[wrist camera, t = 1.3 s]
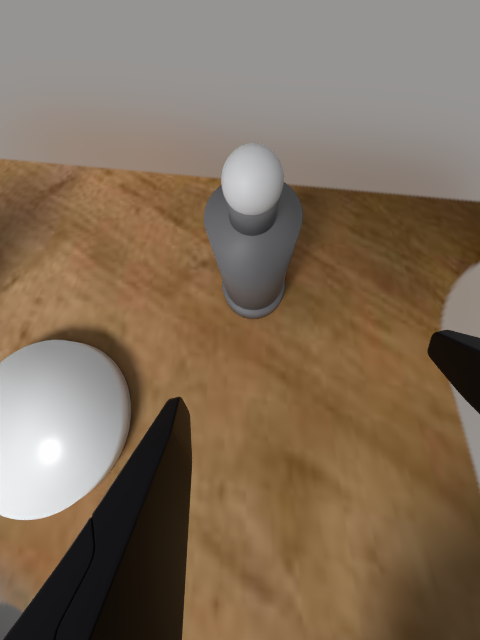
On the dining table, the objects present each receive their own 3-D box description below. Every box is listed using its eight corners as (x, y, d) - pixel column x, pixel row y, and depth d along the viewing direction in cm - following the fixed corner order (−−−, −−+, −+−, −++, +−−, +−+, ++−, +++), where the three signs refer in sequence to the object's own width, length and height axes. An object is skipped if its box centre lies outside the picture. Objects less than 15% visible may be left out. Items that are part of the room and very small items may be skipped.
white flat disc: (162, 416, 20) (155, 420, 18) (36, 550, 18) (17, 566, 17) (71, 313, 23) (59, 309, 21) (-46, 420, 21) (-68, 424, 20)
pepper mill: (294, 289, 22) (363, 143, 8) (255, 330, 21) (257, 250, 7) (251, 254, 23) (247, 74, 9) (213, 293, 22) (146, 161, 8)
